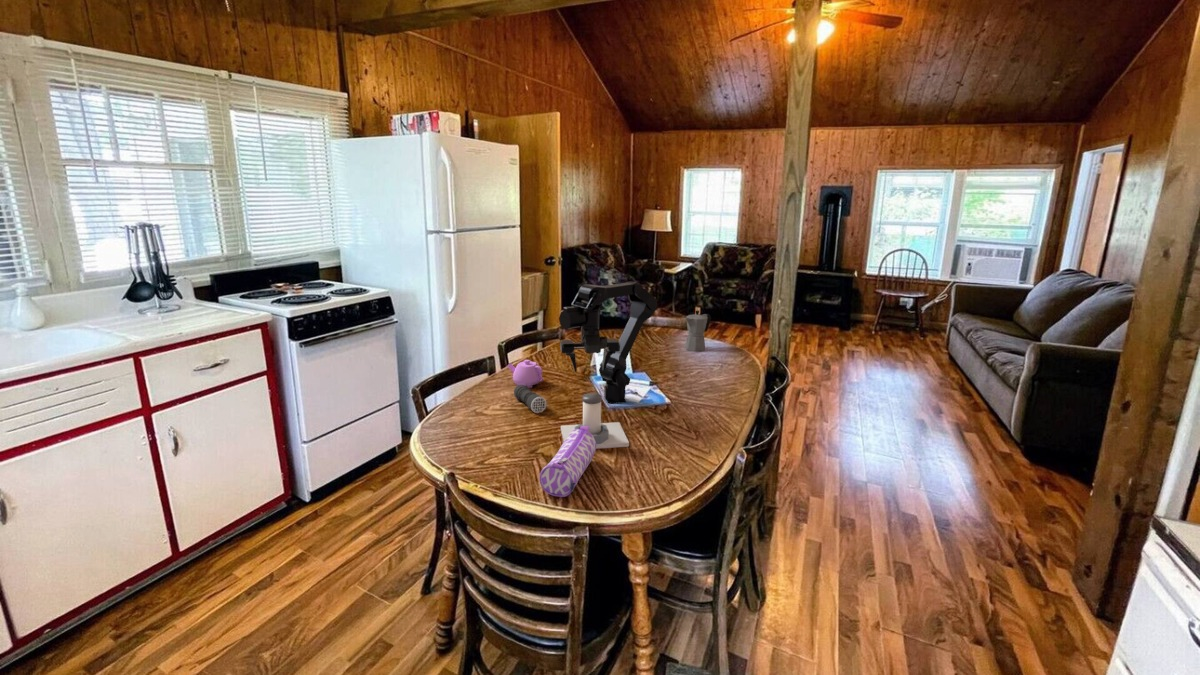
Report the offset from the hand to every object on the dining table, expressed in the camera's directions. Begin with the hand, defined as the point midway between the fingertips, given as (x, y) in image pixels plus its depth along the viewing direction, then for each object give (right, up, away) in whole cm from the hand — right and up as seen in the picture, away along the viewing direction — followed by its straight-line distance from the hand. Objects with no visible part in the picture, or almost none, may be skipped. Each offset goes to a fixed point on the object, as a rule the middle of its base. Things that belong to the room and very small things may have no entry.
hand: (589, 371), depth 178 cm
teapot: (-24, -6, +25) cm, 35 cm away
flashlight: (-20, -12, +6) cm, 24 cm away
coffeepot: (+48, +6, +72) cm, 87 cm away
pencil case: (-4, -25, -39) cm, 47 cm away
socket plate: (+2, -18, -18) cm, 26 cm away
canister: (+1, -18, -20) cm, 27 cm away
